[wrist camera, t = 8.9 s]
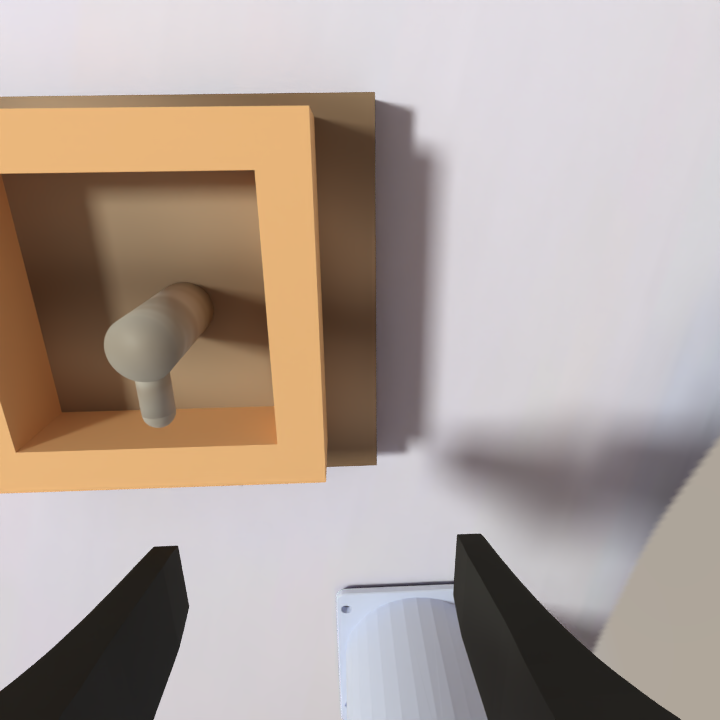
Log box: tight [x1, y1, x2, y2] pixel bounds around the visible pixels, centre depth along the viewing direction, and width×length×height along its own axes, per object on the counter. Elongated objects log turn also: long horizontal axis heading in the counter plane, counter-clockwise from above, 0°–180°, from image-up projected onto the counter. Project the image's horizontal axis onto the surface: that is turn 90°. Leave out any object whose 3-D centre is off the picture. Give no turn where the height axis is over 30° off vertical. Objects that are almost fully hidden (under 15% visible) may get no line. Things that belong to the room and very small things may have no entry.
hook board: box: [0, 92, 377, 467], centre depth 17 cm, size 14×14×6 cm
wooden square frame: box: [0, 105, 328, 493], centre depth 17 cm, size 12×12×3 cm
